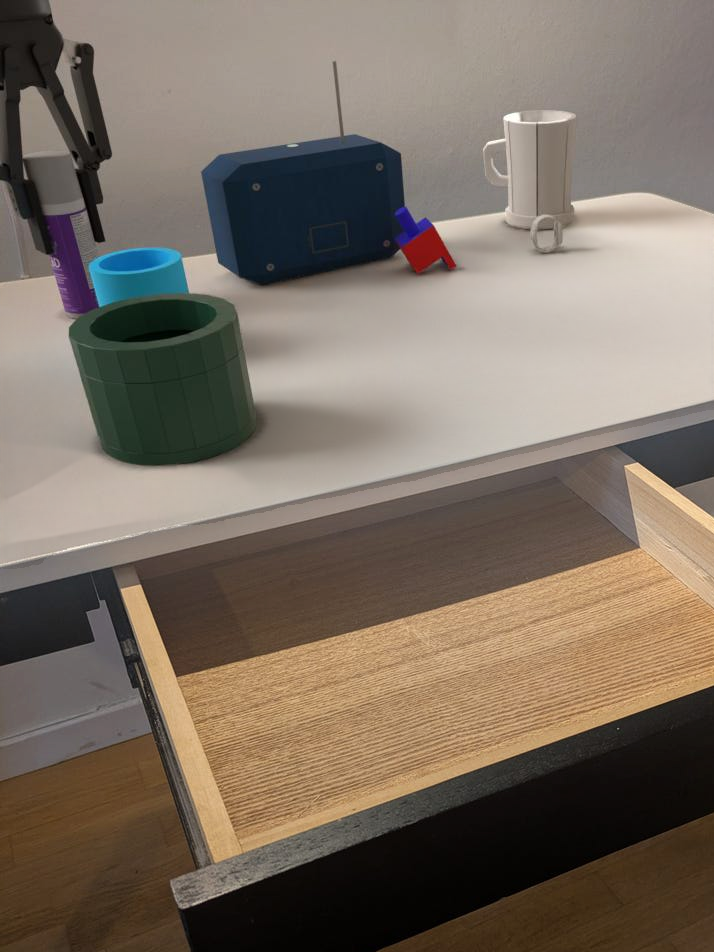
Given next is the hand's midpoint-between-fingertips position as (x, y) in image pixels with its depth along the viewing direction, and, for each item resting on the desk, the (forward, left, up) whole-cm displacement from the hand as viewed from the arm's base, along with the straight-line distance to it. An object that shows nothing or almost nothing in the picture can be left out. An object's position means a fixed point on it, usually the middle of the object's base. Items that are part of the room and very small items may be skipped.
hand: (70, 245), depth 99 cm
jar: (+17, -30, -7) cm, 35 cm away
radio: (+22, +14, -7) cm, 27 cm away
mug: (+9, -10, -7) cm, 15 cm away
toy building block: (+35, +11, -7) cm, 37 cm away
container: (0, 0, -7) cm, 7 cm away
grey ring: (+49, +16, -7) cm, 52 cm away
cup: (+48, +29, -7) cm, 57 cm away
